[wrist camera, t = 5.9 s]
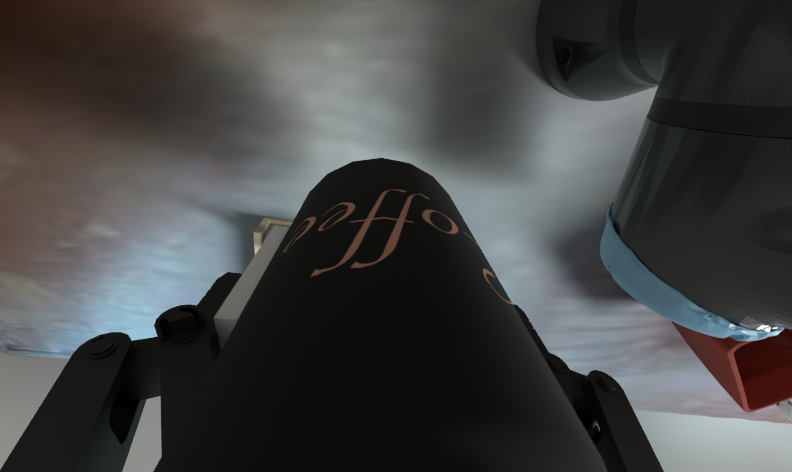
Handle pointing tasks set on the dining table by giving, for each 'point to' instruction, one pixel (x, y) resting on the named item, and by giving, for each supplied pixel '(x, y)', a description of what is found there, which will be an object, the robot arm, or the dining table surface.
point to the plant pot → (747, 366)
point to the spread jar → (786, 408)
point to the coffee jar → (380, 350)
